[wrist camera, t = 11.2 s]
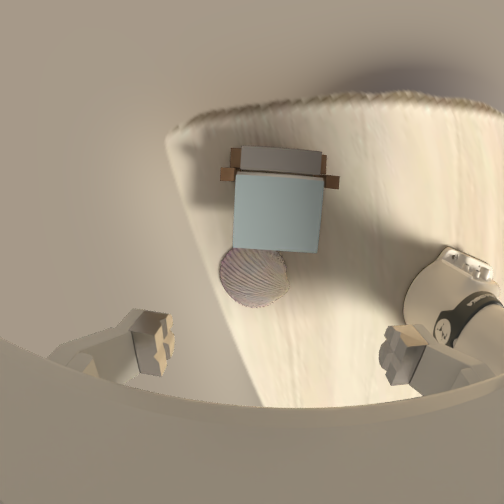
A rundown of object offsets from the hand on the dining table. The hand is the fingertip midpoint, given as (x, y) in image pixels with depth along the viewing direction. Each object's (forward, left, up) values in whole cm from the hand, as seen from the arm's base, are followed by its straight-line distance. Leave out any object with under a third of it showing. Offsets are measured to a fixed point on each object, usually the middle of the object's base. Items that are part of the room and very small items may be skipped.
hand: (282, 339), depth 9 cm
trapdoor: (-1, -3, -26) cm, 26 cm away
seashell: (+2, +9, -30) cm, 31 cm away
